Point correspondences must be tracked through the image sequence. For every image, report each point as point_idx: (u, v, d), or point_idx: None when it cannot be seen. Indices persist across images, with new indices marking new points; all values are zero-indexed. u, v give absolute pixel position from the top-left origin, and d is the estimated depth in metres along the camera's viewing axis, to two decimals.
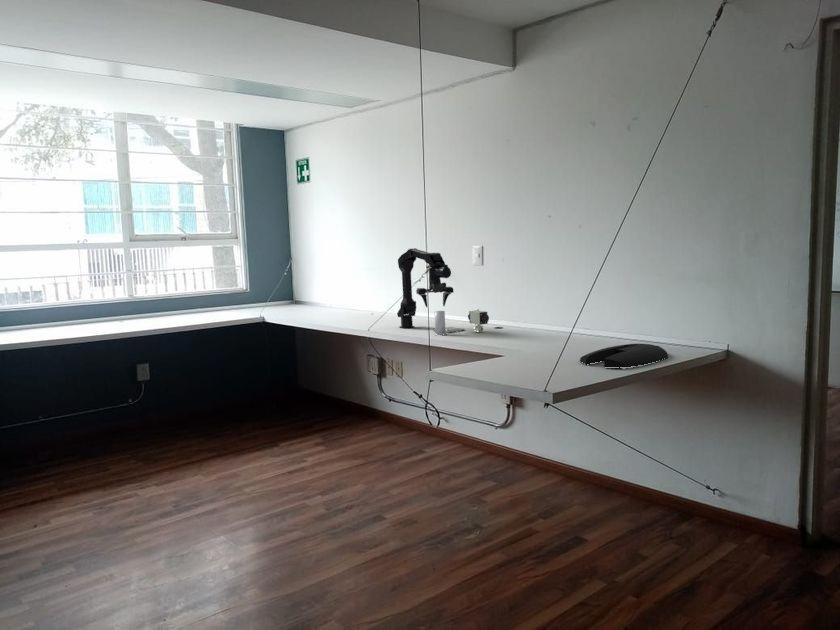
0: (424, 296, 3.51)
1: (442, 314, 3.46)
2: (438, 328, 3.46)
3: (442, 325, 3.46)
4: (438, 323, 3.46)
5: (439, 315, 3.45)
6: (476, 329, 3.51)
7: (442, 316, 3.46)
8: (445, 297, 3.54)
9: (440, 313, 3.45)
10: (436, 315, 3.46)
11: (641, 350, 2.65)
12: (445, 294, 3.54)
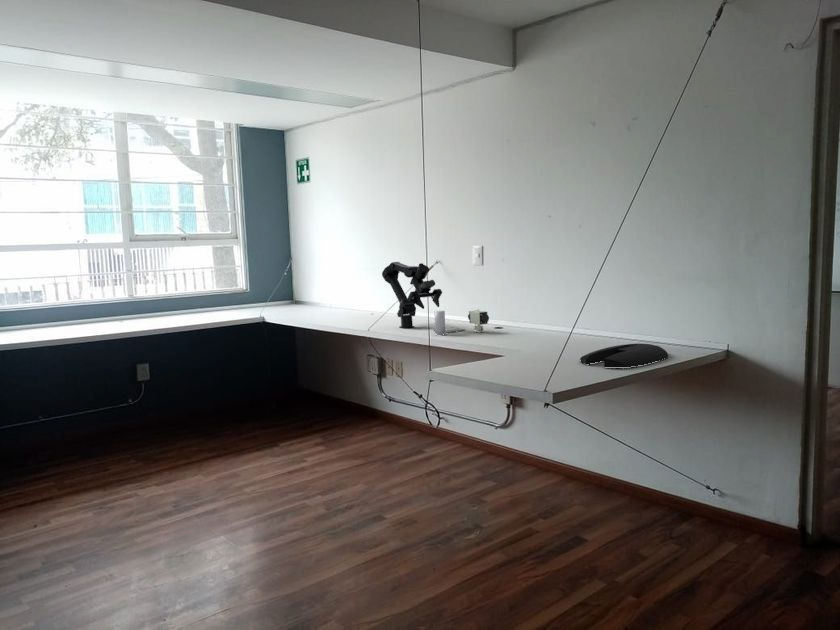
0: (418, 296, 3.52)
1: (442, 314, 3.46)
2: (438, 328, 3.46)
3: (442, 325, 3.46)
4: (438, 323, 3.46)
5: (439, 315, 3.45)
6: (476, 329, 3.51)
7: (442, 316, 3.46)
8: (437, 297, 3.58)
9: (440, 313, 3.45)
10: (436, 315, 3.46)
11: (641, 350, 2.65)
12: (436, 294, 3.58)
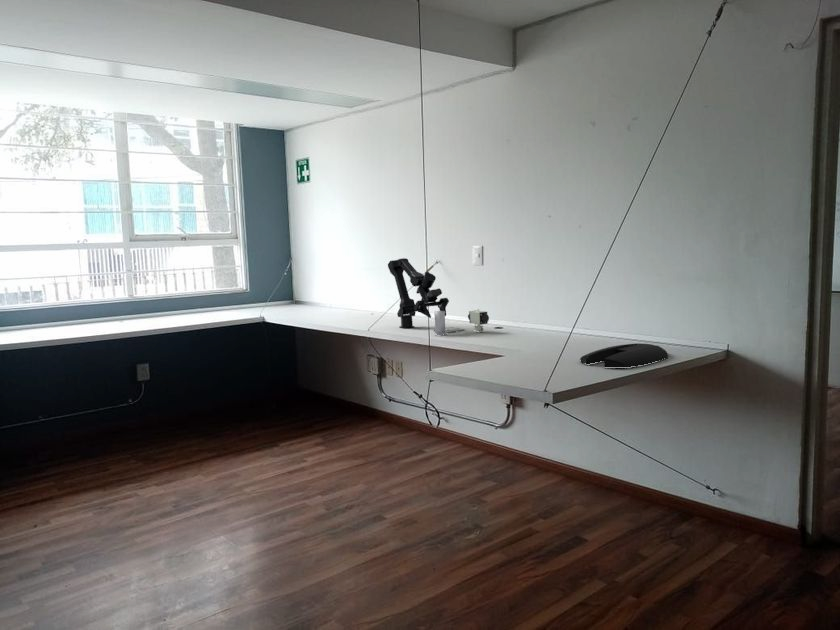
0: (424, 305, 3.48)
1: (442, 314, 3.46)
2: (438, 328, 3.46)
3: (442, 325, 3.46)
4: (438, 323, 3.46)
5: (439, 315, 3.45)
6: (476, 329, 3.51)
7: (442, 316, 3.46)
8: (443, 306, 3.53)
9: (440, 313, 3.45)
10: (436, 315, 3.46)
11: (641, 350, 2.65)
12: (442, 303, 3.54)
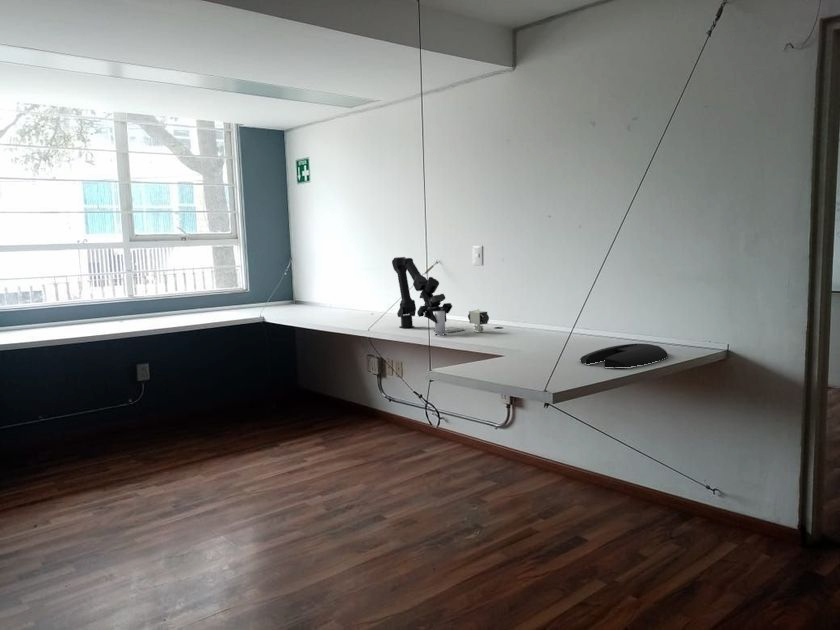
0: (431, 311, 3.46)
1: (442, 314, 3.46)
2: (438, 328, 3.46)
3: (442, 325, 3.46)
4: (438, 323, 3.46)
5: (439, 315, 3.45)
6: (476, 329, 3.51)
7: (442, 316, 3.46)
8: None
9: (440, 313, 3.45)
10: (436, 315, 3.46)
11: (641, 350, 2.65)
12: (443, 309, 3.50)
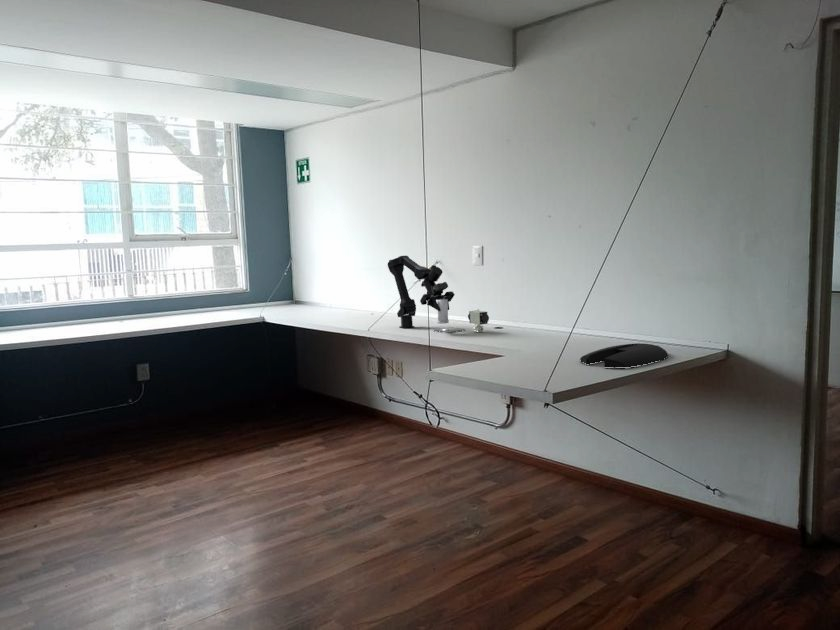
0: (434, 299, 3.48)
1: (445, 302, 3.48)
2: (441, 316, 3.48)
3: (445, 313, 3.48)
4: (441, 311, 3.48)
5: (442, 303, 3.47)
6: (476, 329, 3.51)
7: (445, 304, 3.48)
8: None
9: (443, 301, 3.47)
10: (439, 303, 3.48)
11: (641, 350, 2.65)
12: (445, 297, 3.53)
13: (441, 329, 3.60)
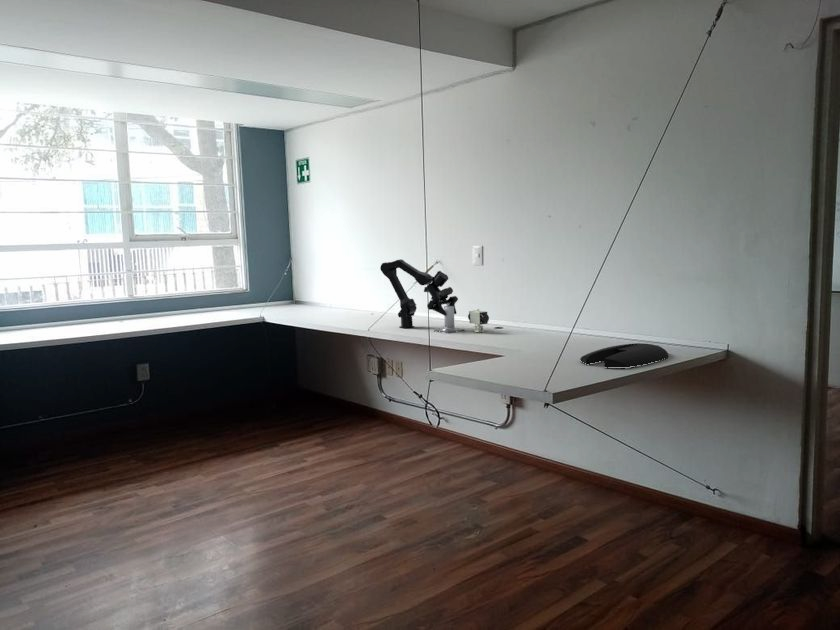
0: (439, 304, 3.56)
1: (452, 309, 3.57)
2: (448, 322, 3.57)
3: (452, 320, 3.57)
4: (448, 318, 3.57)
5: (450, 310, 3.56)
6: (476, 329, 3.51)
7: (452, 311, 3.57)
8: (453, 305, 3.62)
9: (451, 308, 3.56)
10: (446, 310, 3.56)
11: (641, 350, 2.65)
12: (452, 301, 3.62)
13: (441, 329, 3.60)
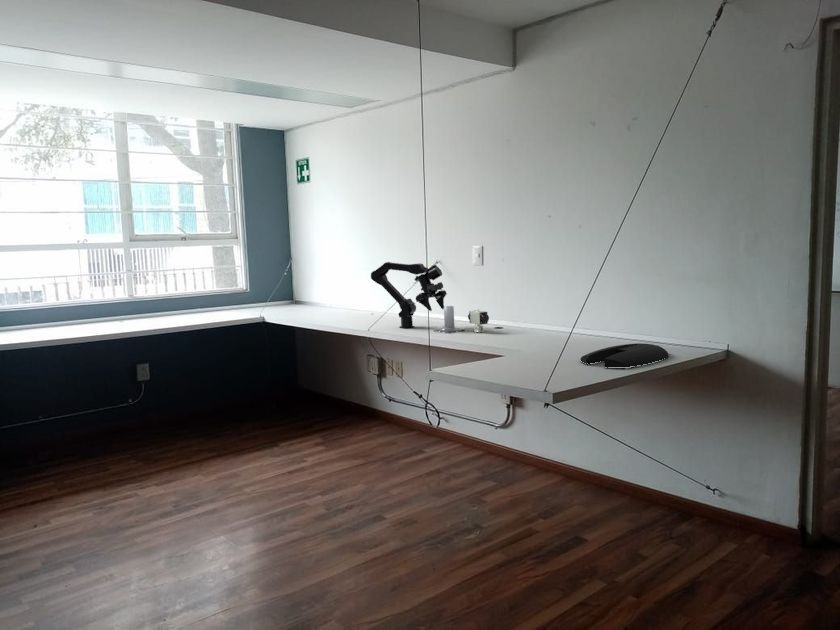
0: (427, 299, 3.61)
1: (452, 309, 3.57)
2: (448, 322, 3.57)
3: (452, 320, 3.57)
4: (448, 318, 3.57)
5: (449, 310, 3.56)
6: (476, 329, 3.51)
7: (452, 311, 3.57)
8: (442, 299, 3.69)
9: (450, 308, 3.56)
10: (446, 310, 3.56)
11: (642, 350, 2.65)
12: (441, 296, 3.69)
13: (441, 329, 3.60)
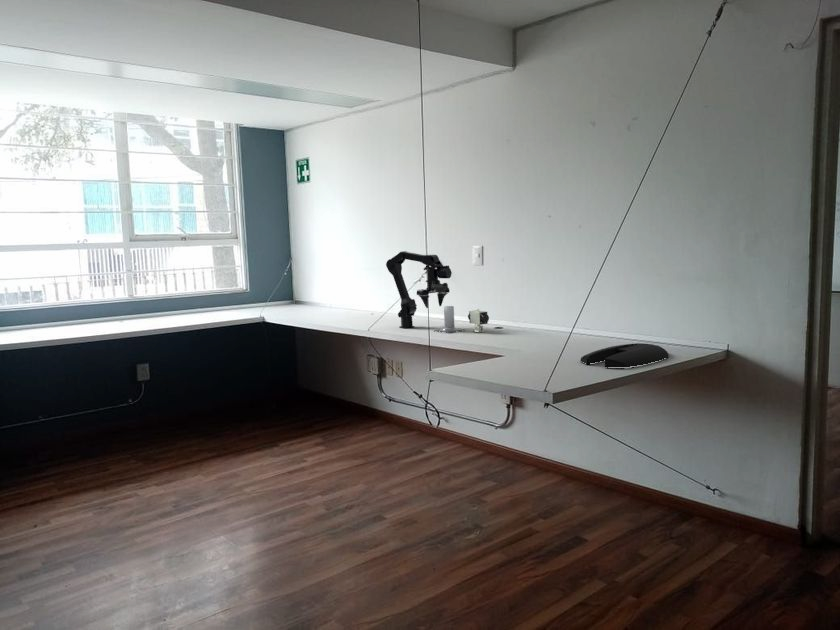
0: (427, 297, 3.61)
1: (452, 309, 3.57)
2: (448, 322, 3.57)
3: (452, 320, 3.57)
4: (448, 318, 3.57)
5: (449, 310, 3.56)
6: (476, 329, 3.51)
7: (452, 311, 3.57)
8: (442, 297, 3.68)
9: (450, 308, 3.56)
10: (446, 310, 3.56)
11: (642, 350, 2.65)
12: (443, 294, 3.67)
13: (441, 329, 3.60)
